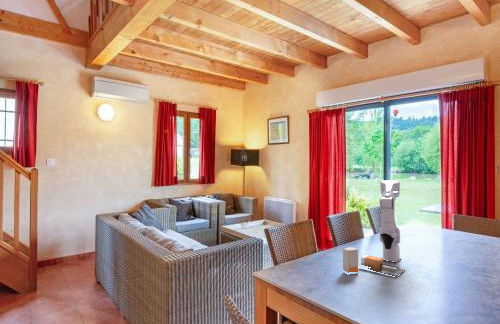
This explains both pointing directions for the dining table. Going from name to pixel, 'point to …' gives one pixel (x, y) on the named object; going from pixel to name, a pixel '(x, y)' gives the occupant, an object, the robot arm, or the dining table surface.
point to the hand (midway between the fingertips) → (388, 248)
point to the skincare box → (350, 259)
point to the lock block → (373, 262)
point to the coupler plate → (385, 268)
